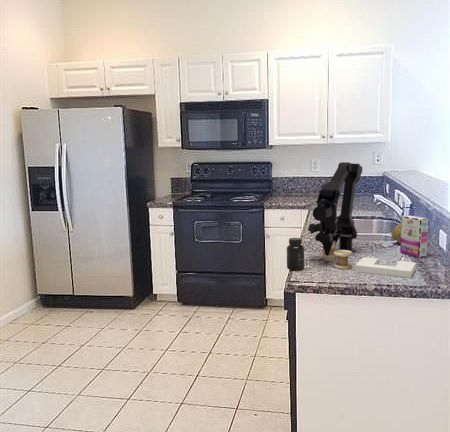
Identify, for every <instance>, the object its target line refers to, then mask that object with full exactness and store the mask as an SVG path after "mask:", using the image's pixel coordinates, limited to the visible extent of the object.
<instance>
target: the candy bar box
mask: <svg viewBox="0 0 450 432" xmlns="http://www.w3.org/2000/svg"><path fill="white" fill-rule="evenodd" d="M400 224H401V244H399V245H400V249H399V252H400V253H401V254H404V255H408V256H412V257H415V258H418V259H419V258H427V257H428V246H429V243H428V242H429V229H430V228H429V224H430V219H429V218H427V217H421V216H417V215H410V214H409V215H406V214H405V215H401V223H400Z"/></svg>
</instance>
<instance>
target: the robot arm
mask: <svg viewBox="0 0 450 432" xmlns="http://www.w3.org/2000/svg"><path fill="white" fill-rule="evenodd" d="M336 168H337V169H336V170H335V172H334V173H333V175H332V177H331V178H330V181H328V182H327V183H325V184H324V185H323V186H322V187H321V188H320V190H319V193H318V196H317V199H316V204H317V205H316V207H314V209H313V211H312V217H313V218H314V220H316V221H317V222H318V223H314V222H312V223H310V224H309V226H308V227H307V228H308V229H307V230H308V232H309V233H310V234H314V233H317V234H316V235H315V238H314V239H315V242H320V243H321V245H322V248H323V247H324V251H325V255H327V256H328V255H329V253H330V250H331V247H332V244H333V242H334V241H335V247H336V245H337V244H338V249H336V250H348V251H351V252H352V253H353V251H355V248H353V240H354V239H357V237H358V231H357V229H356V227H355V221H354V219H353V217H352V215H353V214H352V213H353V207H354V200H355V191H356V185H357V183H358V182H359V181H360V180H361V178H362V177H361V176H362V174H363V167H362V166H361V164H360V163H351V162H349V161H344V162H339V163H338V165H337V167H336ZM342 185H343V186H344V187H343V193H342V200H341V209H340V214H339V216H338V205H339V203H338V202H339V200H340V197H341V187H342Z"/></svg>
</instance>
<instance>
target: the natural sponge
mask: <svg viewBox="0 0 450 432" xmlns="http://www.w3.org/2000/svg"><path fill="white" fill-rule="evenodd" d="M391 237H392V238H393V239H394V240H396V242H397V243H398V244H399V245H401V223H399V224H397V225H396V226H395V227H394V228H393V230H392V231H391Z"/></svg>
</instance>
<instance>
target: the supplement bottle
mask: <svg viewBox="0 0 450 432" xmlns="http://www.w3.org/2000/svg"><path fill="white" fill-rule="evenodd" d="M286 268H287V270H289V271H296V272H297V271H302V270H304V269H305V247H304V246H303V245H302V238H301V237H290V238H289V239H288V245H287V247H286Z"/></svg>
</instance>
